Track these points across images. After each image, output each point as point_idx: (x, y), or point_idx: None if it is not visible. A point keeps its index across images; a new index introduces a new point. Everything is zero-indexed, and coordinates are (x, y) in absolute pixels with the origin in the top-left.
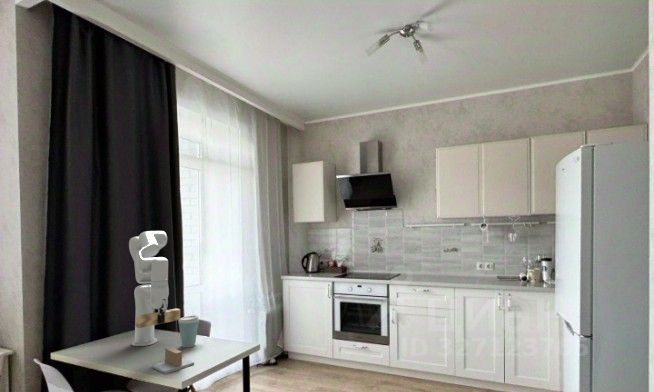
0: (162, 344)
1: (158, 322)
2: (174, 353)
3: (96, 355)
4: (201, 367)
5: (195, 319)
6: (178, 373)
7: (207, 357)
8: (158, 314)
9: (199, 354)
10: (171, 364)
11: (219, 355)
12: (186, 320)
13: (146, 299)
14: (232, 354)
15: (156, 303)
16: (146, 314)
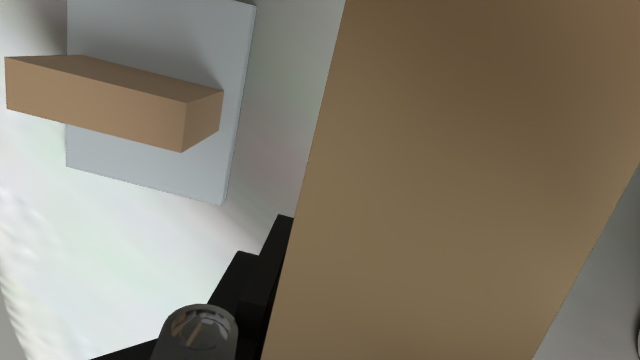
0: (563, 346)
1: (273, 225)
2: (35, 62)
3: None
4: (4, 147)
5: None
6: (19, 13)
7: (115, 273)
8: (266, 338)
9: (194, 293)
10: (135, 69)
11: (89, 317)
12: None
13: None
14: (49, 348)
15: None
16: (544, 142)
